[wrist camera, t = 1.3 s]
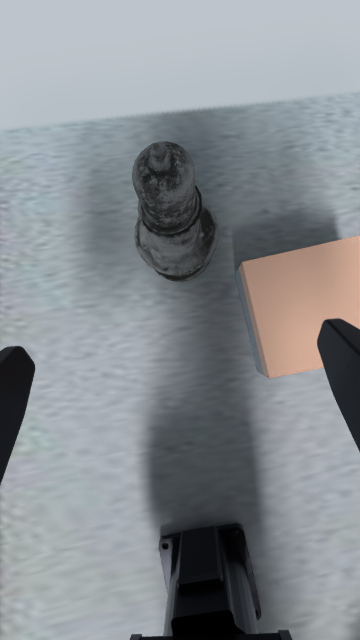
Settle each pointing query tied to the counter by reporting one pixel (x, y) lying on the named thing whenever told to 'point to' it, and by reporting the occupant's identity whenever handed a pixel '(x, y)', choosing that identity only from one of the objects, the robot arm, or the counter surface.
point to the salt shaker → (172, 213)
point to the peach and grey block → (298, 302)
